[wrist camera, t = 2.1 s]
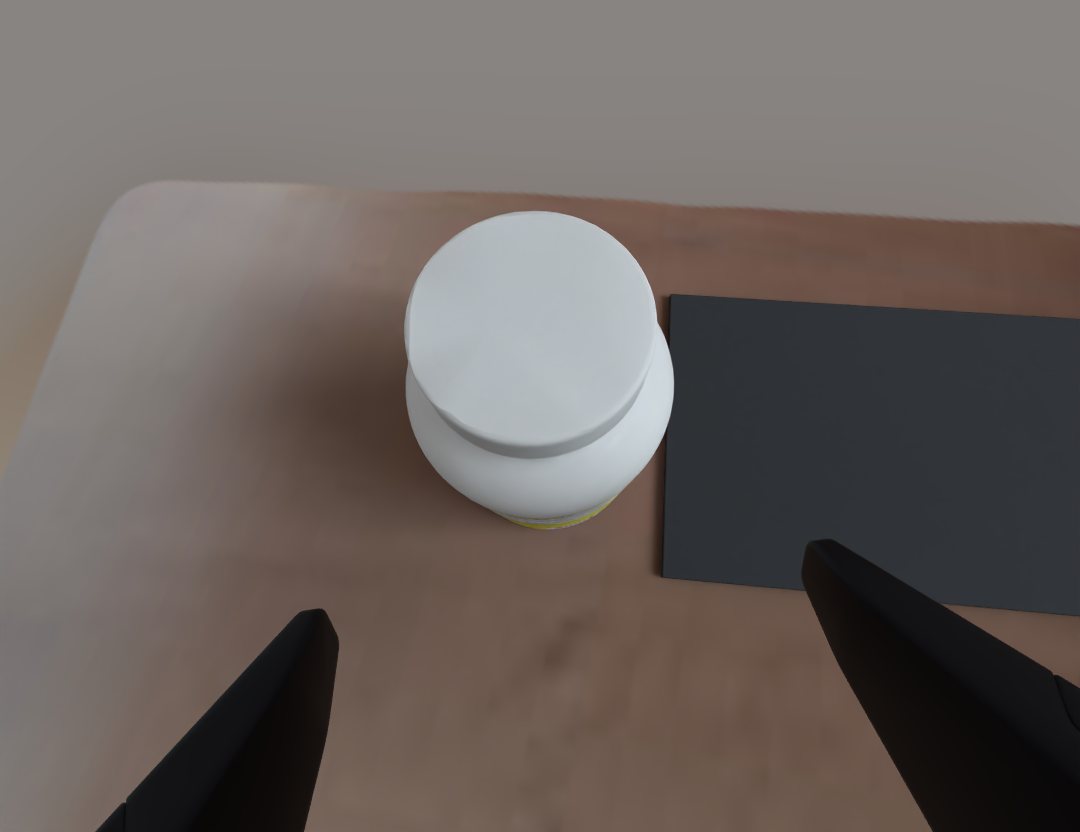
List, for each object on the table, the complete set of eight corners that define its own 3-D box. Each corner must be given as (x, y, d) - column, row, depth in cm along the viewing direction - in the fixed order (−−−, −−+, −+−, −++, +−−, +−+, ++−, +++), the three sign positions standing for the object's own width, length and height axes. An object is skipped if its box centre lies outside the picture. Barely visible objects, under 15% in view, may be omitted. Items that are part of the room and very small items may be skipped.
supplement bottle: (504, 353, 23) (438, 122, 11) (649, 404, 22) (760, 216, 10) (443, 497, 22) (285, 422, 9) (596, 557, 21) (649, 562, 8)
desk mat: (1146, 326, 22) (1154, 323, 22) (1211, 628, 19) (1221, 629, 19) (669, 296, 24) (670, 293, 23) (661, 577, 21) (662, 577, 20)
